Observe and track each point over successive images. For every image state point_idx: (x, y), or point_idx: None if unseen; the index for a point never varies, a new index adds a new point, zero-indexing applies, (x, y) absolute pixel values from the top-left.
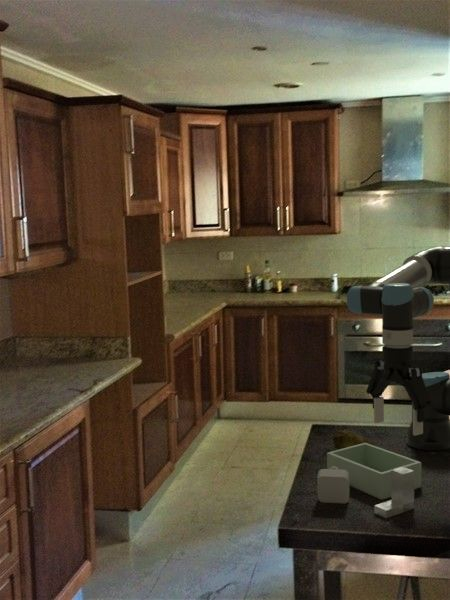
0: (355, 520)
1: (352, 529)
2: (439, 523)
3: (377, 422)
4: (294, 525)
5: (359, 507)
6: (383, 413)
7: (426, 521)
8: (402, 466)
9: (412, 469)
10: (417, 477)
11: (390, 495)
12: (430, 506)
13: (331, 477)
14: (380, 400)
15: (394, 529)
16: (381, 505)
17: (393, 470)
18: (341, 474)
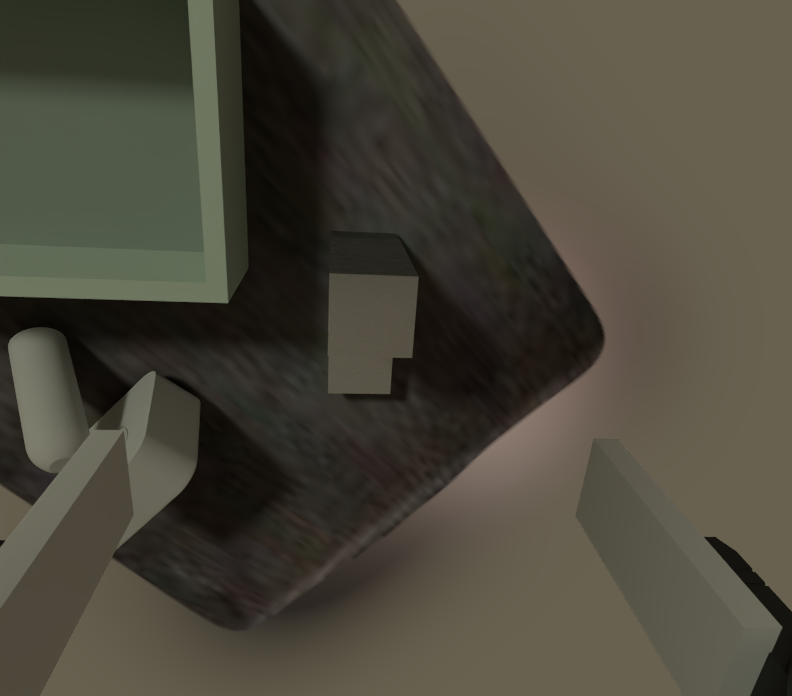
0: (332, 465)
1: (377, 511)
2: (546, 269)
3: (130, 502)
4: (244, 612)
5: (254, 386)
6: (89, 480)
7: (503, 292)
8: (199, 115)
9: (220, 45)
10: (228, 5)
11: (245, 216)
12: (428, 162)
13: (146, 521)
14: (12, 657)
15: (466, 419)
16: (345, 373)
17: (341, 354)
18: (156, 489)
